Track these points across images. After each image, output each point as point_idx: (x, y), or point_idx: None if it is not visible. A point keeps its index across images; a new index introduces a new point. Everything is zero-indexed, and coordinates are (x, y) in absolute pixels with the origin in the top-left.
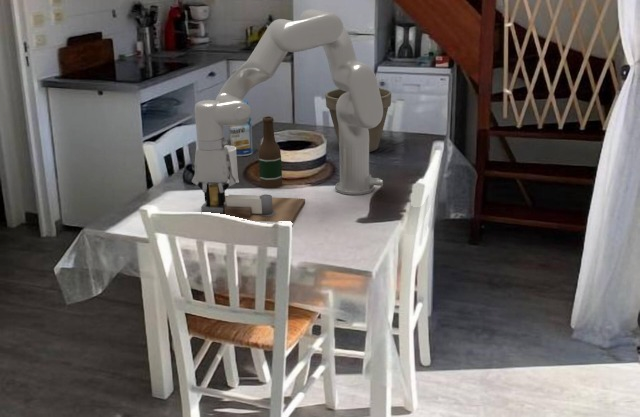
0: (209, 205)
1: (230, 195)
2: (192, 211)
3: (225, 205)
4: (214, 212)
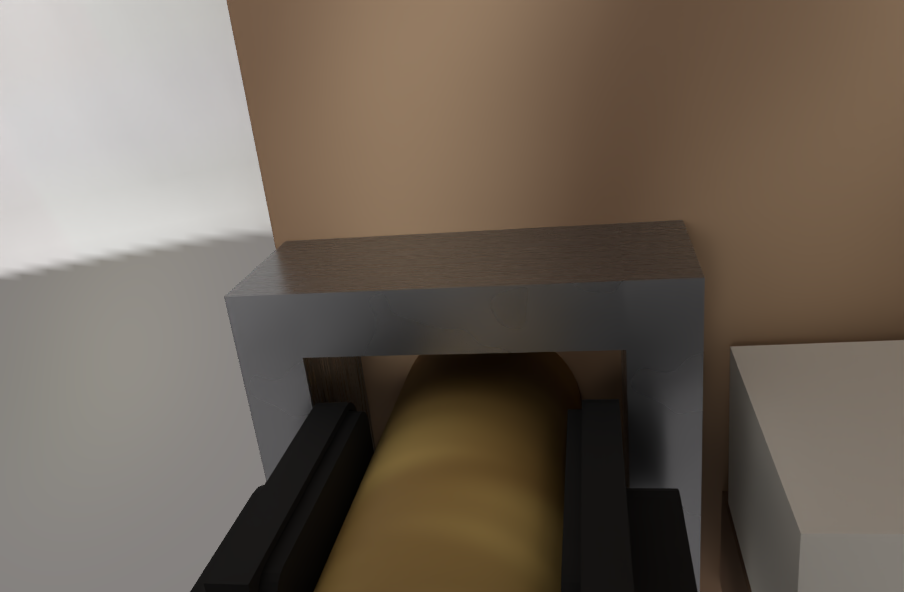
0: (337, 386)
1: (859, 585)
2: (72, 241)
3: (698, 519)
4: None
